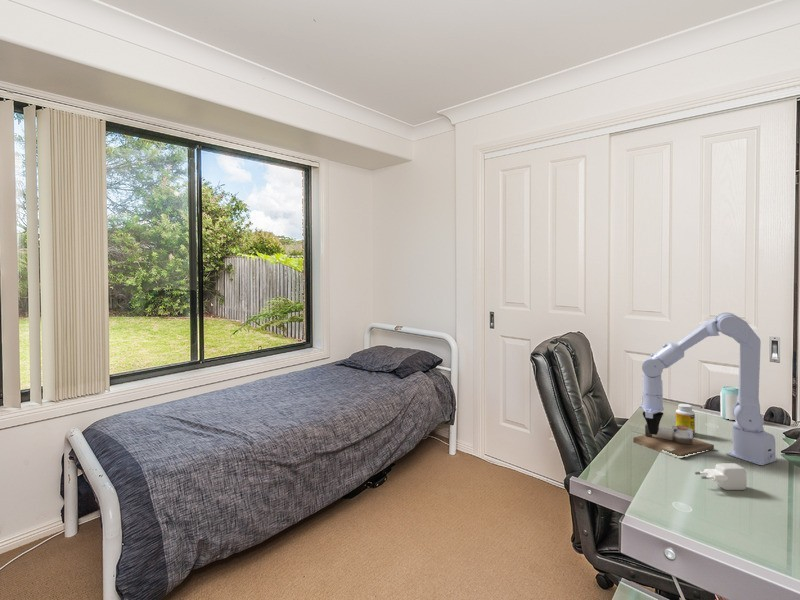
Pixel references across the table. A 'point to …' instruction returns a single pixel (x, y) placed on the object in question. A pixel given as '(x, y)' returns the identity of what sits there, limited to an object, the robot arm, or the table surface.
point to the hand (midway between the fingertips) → (653, 433)
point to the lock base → (673, 445)
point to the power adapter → (727, 476)
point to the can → (728, 401)
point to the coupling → (673, 434)
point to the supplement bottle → (685, 416)
